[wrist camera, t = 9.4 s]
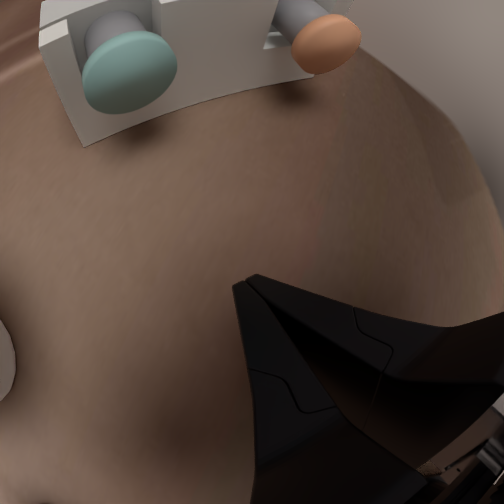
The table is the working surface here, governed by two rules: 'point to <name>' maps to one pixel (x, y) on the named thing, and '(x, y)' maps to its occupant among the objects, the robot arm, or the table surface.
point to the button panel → (184, 47)
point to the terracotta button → (316, 35)
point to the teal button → (125, 64)
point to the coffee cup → (6, 362)
